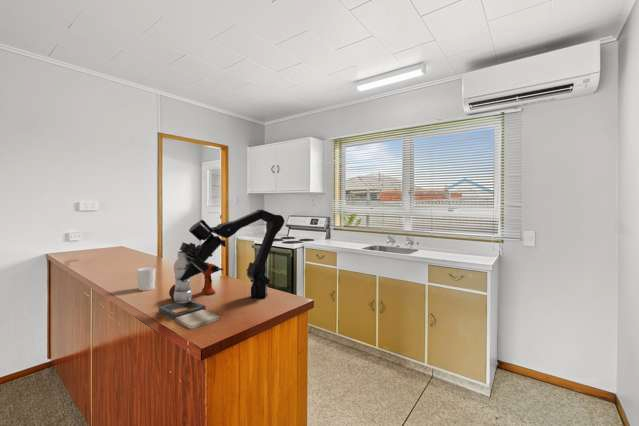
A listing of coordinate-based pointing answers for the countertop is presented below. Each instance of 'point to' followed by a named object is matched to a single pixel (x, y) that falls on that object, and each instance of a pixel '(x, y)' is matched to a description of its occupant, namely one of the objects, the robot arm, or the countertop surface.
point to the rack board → (197, 319)
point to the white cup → (146, 278)
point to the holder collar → (167, 308)
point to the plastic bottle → (181, 287)
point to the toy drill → (209, 279)
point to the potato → (172, 291)
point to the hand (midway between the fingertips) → (178, 278)
